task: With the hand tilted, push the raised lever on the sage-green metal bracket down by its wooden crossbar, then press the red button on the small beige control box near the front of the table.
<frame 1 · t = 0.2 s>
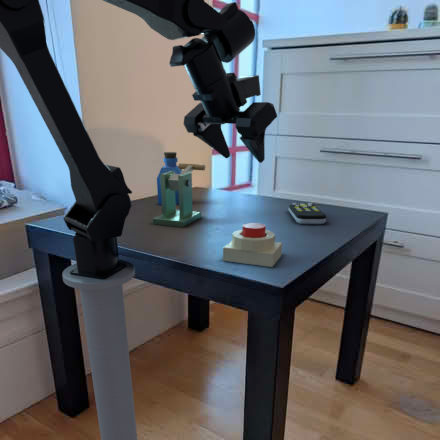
hand: (244, 159, 78), 13 cm above the table, tool tilted 35°, fingers open, 9 cm apart
perfume bottle: (172, 202, 107), on the table
control box: (252, 258, 67), on the table
lever: (183, 175, 88), point 9 cm above the table, hinge at 16.0°
button: (253, 231, 65), point 4 cm above the table, slide at 0.1 cm
remote control: (305, 218, 92), on the table
bracket: (177, 220, 89), on the table
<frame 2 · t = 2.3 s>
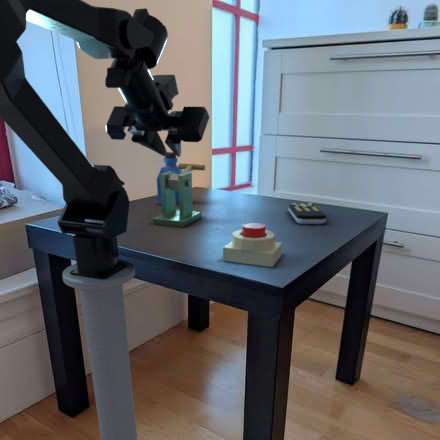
hand: (172, 154, 82), 14 cm above the table, tool tilted 45°, fingers open, 3 cm apart
nothing on the table moved.
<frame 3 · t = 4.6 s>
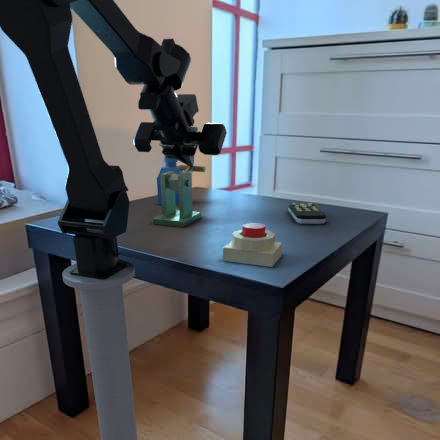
hand: (191, 164, 91), 11 cm above the table, tool tilted 45°, fingers closed, pressing on lever
lever: (183, 175, 88), point 9 cm above the table, hinge at 13.3°, touching gripper
everything else where it was.
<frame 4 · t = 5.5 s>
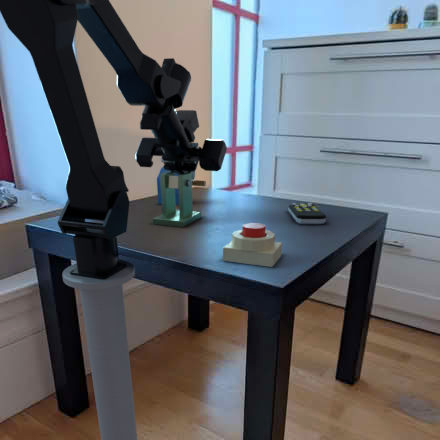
hand: (192, 178, 93), 8 cm above the table, tool tilted 45°, fingers closed, pressing on bracket
lever: (184, 182, 89), point 7 cm above the table, hinge at -9.0°
everything else where it was.
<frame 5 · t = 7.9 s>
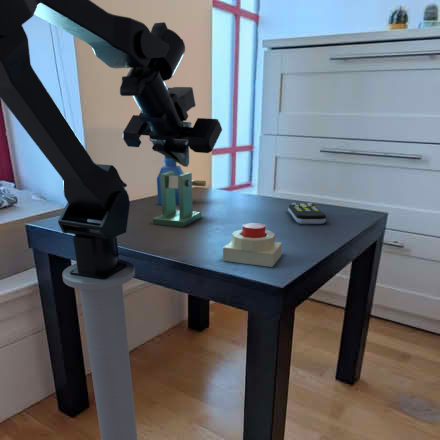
hand: (186, 164, 84), 12 cm above the table, tool tilted 40°, fingers closed
nothing on the table moved.
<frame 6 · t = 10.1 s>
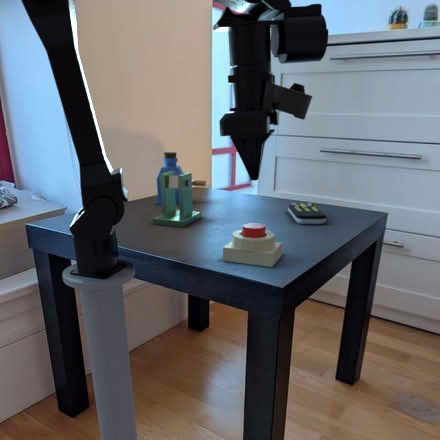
hand: (254, 179, 65), 12 cm above the table, tool pointing down, fingers closed
nothing on the table moved.
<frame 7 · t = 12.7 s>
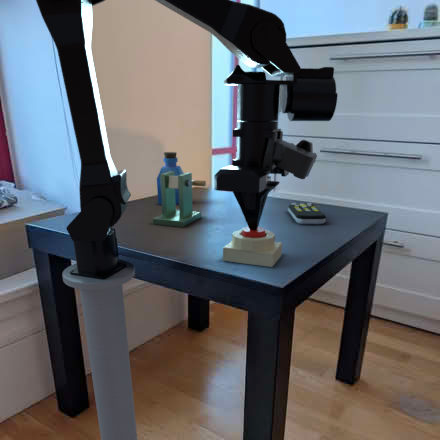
hand: (253, 229, 65), 5 cm above the table, tool pointing down, fingers closed, pressing on button
button: (253, 234, 65), point 4 cm above the table, slide at -0.5 cm, touching gripper
everything else where it was.
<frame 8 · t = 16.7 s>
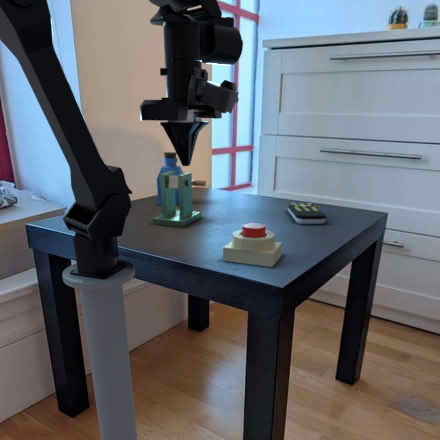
hand: (186, 165, 71), 13 cm above the table, tool pointing down, fingers closed
button: (253, 231, 65), point 4 cm above the table, slide at 0.1 cm
everything else where it was.
at the end: lever at -9° (first picture: +16°); button pushed in 1.1 cm at the most during the clip, back to where it started at the end; button slide at 0.1 cm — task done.
